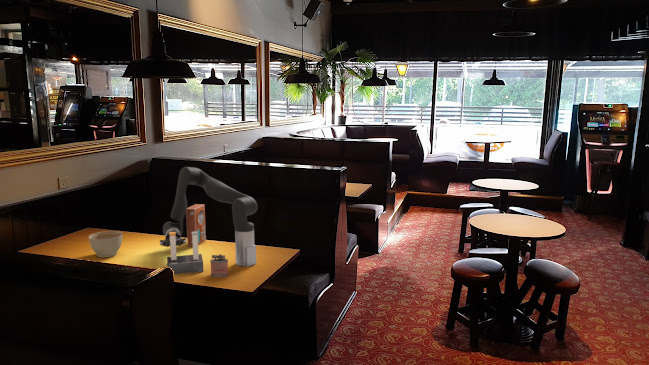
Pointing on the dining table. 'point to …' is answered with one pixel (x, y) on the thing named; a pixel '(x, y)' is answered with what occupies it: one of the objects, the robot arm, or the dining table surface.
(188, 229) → the control panel
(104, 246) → the planter bowl
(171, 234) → the handle
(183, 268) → the grey rectangular base
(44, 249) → the dining table surface
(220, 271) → the lighter
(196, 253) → the handle
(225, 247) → the dining table surface
